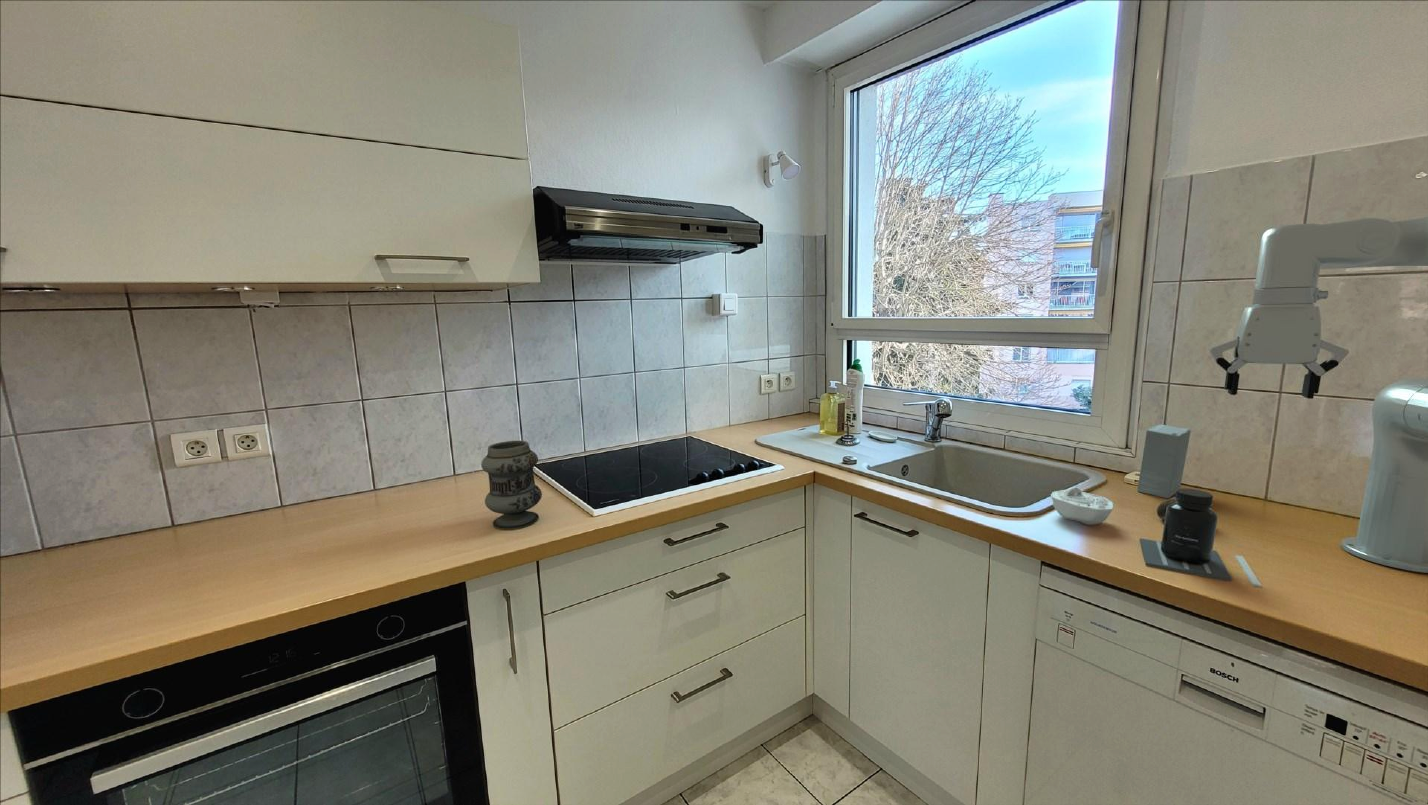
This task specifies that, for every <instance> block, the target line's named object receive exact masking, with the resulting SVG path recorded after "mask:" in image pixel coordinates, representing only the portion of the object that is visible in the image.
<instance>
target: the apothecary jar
mask: <svg viewBox="0 0 1428 805" xmlns="http://www.w3.org/2000/svg"><path fill="white" fill-rule="evenodd" d="M538 461H539V457H538V454H537V453H536V452H535V451H533V450H531V447H530V444H529V442H528V441H526V440H507V441H502V442H501V441H500V442H496V443H493V444H490V445H488V447H487V455H485V456H484V458H483V459H482V460H481V463H480V464H481V468H482V470H483V471H484V472H485V473H487V474H488V483H489V492H488V493H487V495H486V496H485V499H484V504H485V506H486V508H487V509H488V510H490V511H491V512H494V513H497V514H501V515H500V516H498V517H496V518H495V519H494V520H493V522H492V526H493V528H494V529H497V530H501V531H511V530H512V531H513V530H519V529H524V528H527V527H530V526H532V525H533V524H535V523H537V522H538V521H539V518H540V515H539V514H538V513H537V512H536V511H535V512H534V511H531V510H530V509H532V508H533V507H535V506H536V505H538V504H539V502H540V501H541V499H542V498H543V496H542V495H543V494H542V489H541V488H540V487H539V486H538V485H536V482H535V481H536V480H535V475H534V467H535V466H536V465H537V464H538ZM529 510H530V511H529Z"/></svg>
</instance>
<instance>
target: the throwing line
mask: <svg viewBox="0 0 1428 805" xmlns="http://www.w3.org/2000/svg"><path fill="white" fill-rule="evenodd" d="M1234 557H1235V559H1236V561H1237V563H1238V564H1239V566H1240V567H1242V568H1241V569H1242V570H1243V572H1244V574H1245V576H1246V575H1247V576H1246V577H1247V579H1248V580H1249V582H1250V584H1251V586H1254V587H1259V588H1261V587H1262V584H1261V582H1260V580H1259V579H1258V577H1257V576H1256V575H1255V573H1254V572H1253V570H1252V568H1251V567H1250V565H1249V564H1248V562H1247V561H1246V560H1245V558H1244V556H1242V555H1237V554H1235V555H1234Z"/></svg>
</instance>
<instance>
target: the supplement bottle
mask: <svg viewBox="0 0 1428 805" xmlns="http://www.w3.org/2000/svg"><path fill="white" fill-rule="evenodd" d="M1174 497H1175V500H1176V502H1174V503H1171V504H1170V505H1168V507H1167V509H1166V515H1165V520H1164V522H1163V530H1162V536H1161V541H1160V542H1161V551H1162V552H1163V554H1165V555H1166V556H1168V557H1170V558H1172V559H1174V560H1177V561H1181V562H1185V563H1190V564H1206V563H1208V562H1210V560H1211V556H1212V551H1213V549H1214V545H1215V544H1214V543H1215V539H1216V531H1217V526H1218V519H1219V518H1218V515H1217V512H1216V511H1215V510H1213V509H1212V506H1213V499H1214V495H1213V494H1212V493H1210V492H1207V491H1205V490H1200V489H1195V488H1188V487H1187V488H1186V487H1184V488H1183V487H1180V489H1177V491H1176V493H1175V496H1174Z"/></svg>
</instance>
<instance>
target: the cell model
mask: <svg viewBox="0 0 1428 805" xmlns="http://www.w3.org/2000/svg"><path fill="white" fill-rule="evenodd" d="M1050 497H1051V500H1052V505H1053V507H1054V509H1055V511H1056V512H1057V513H1058V514H1059V516H1061V517H1062V518H1064V519H1067V520H1070V521H1075V522H1076V521H1077V522H1080V523H1083V524H1085V525H1087V526H1089V525H1090V526H1091V525H1097V524H1100V523H1102V522H1103V523H1104V522H1105V521H1107V519H1108V518H1109V516H1110V515H1111V513H1112V511H1113V510H1114V509H1115V506H1114V502H1113V501H1112V500H1110V499H1108V498H1106V497H1104V496H1101V495H1097V494H1093V493H1088V492H1085V491H1082V490H1081V489H1079V487H1073V486H1072V487H1069V488H1067V489H1061V490H1055V491H1053V492H1052V493H1051V494H1050Z"/></svg>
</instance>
